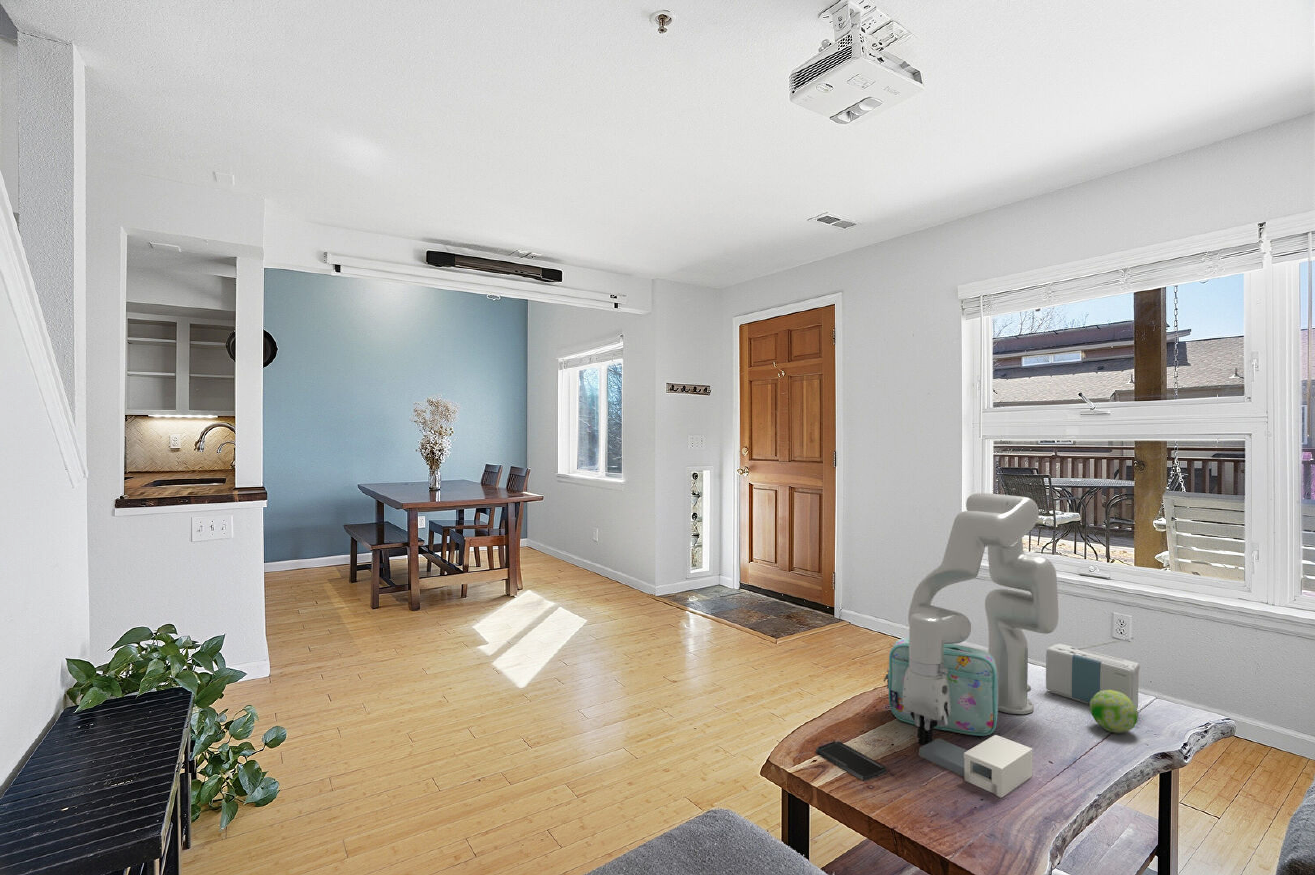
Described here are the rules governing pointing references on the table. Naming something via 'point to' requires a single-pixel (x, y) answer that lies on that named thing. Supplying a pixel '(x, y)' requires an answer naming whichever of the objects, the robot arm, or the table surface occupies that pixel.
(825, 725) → the table surface
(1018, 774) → the white hollow box
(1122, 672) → the stereo radio cassette player
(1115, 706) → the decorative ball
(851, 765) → the phone
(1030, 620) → the robot arm
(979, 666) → the lunch box
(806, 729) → the table surface
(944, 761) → the slate board
